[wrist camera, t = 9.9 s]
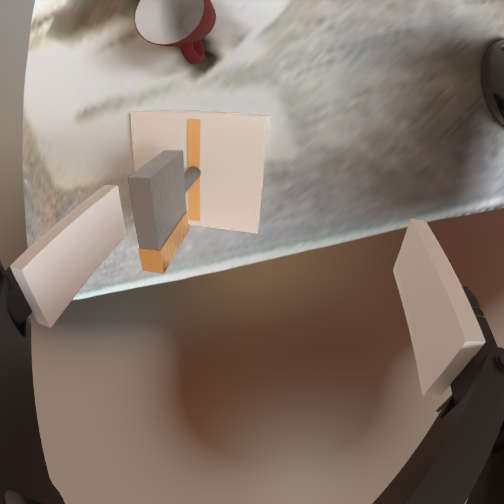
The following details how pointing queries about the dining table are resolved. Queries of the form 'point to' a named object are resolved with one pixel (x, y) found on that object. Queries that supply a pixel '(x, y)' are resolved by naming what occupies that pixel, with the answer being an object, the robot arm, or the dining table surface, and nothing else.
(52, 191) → the dining table surface
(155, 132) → the post base
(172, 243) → the grey slab
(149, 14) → the mug
